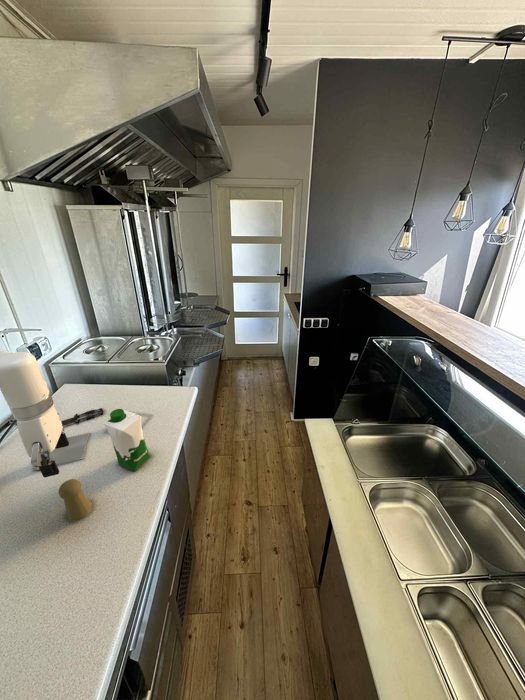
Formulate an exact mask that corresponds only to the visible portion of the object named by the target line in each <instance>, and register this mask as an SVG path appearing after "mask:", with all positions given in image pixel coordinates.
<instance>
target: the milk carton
mask: <svg viewBox="0 0 525 700" xmlns="http://www.w3.org/2000/svg"><path fill="white" fill-rule="evenodd" d="M109 418H110V419H109V420H107V421H106V422H104V427H105V428H106V431H107V432H108V435H109V436H110V440H111V443H112V446H113V449H114V452H115V455H116V460H117V462H118V465H119V466H121V467H123V468H125V469H128V470H129V471H131V472H137V470H139V468H141V467H142V466H143V465H144V464H145V463H146V462H147V461H149V459H150V458H151V455H150V453H149V449H148V447H147V444H146V440H145V435H144V431H143V427H142V415H139V414H137V413H135V412H133V411H129V410H127V409H126V410H125V409H122V408H116V409H114V410H112V411H111V412H110V413H109Z"/></svg>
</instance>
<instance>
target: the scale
mask: <svg viewBox="0 0 525 700" xmlns="http://www.w3.org/2000/svg"><path fill="white" fill-rule="evenodd" d="M89 437H90V433H89V432H88V433H83V434H79V435H74V436H69V437H67V439H68V442H69V446H66V447H62V448H57V449H56V448H55V449H54V450H53V451H52V461H53V460H55V463H56V465H57V466H61V465H65V464H69V463H73V462H77V461H82V460H83V459H84V456H85V452H86V449H87V445H88V441H89ZM44 451H47V450H45V449H42V450H41V452H44ZM44 455H45V457H46V460H47V454H44ZM30 465H31V468H32V469H33V470H34V471H40V469H39V467H38V468H37V467H35V466H34V465H33V464H31V463H30Z"/></svg>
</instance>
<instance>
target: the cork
mask: <svg viewBox="0 0 525 700" xmlns="http://www.w3.org/2000/svg"><path fill="white" fill-rule="evenodd" d="M82 486H83V485H82V483H81V481H80V480H79V479H76V478H71V479H67V480H66V481H64V482H63V483H61V485H60V486H59V488H58V496H59V497H60V498H61V499H62V500H63V502H64V508H65V511H66V516H67V518H68V520H69V521H71V522H75V521H76V522H77V521H80V520H82V519H84V518H85V517H87V515H89V513H90V512H91V511H92V508H93V506H92V505H93V504H92V503H91V501H90V500H89V498H88V497H87V495H86V494H85V493H84V491H83V490H82Z"/></svg>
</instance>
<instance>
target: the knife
mask: <svg viewBox="0 0 525 700" xmlns="http://www.w3.org/2000/svg"><path fill="white" fill-rule="evenodd" d="M95 412H97V413H95ZM94 413H95V414H94ZM84 415H86V416H84ZM98 415H100V416H103V415H104V409H103V408H102V407H100V408H97V409H90V410H87V411H85V412H82V413H80V414H78V413H75V414H74V415H73V417H71V418H67V419H64V420H61V422H62V428H64V427H68V426H72V425H73V424H75V425H76V424H77V425H79V424H80V423H81V421H84V420H86V421H91V420H93V419H95V418H96V416H98ZM81 416H84V417H82V418H81Z"/></svg>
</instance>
